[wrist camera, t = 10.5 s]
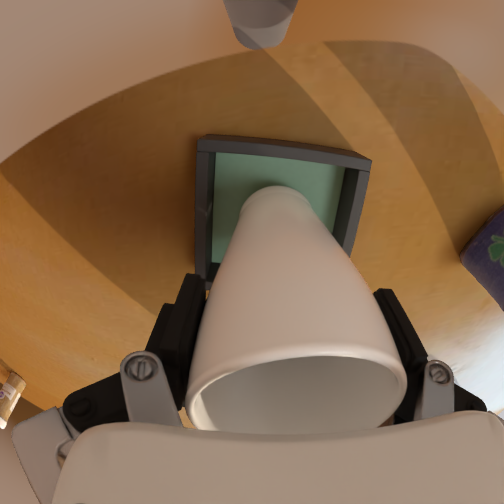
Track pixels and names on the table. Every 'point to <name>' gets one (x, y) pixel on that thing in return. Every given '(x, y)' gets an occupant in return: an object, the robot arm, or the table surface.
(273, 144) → the cup holder
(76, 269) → the table surface
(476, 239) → the flask
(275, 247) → the white tapered cylinder
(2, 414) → the sprinkles bottle
